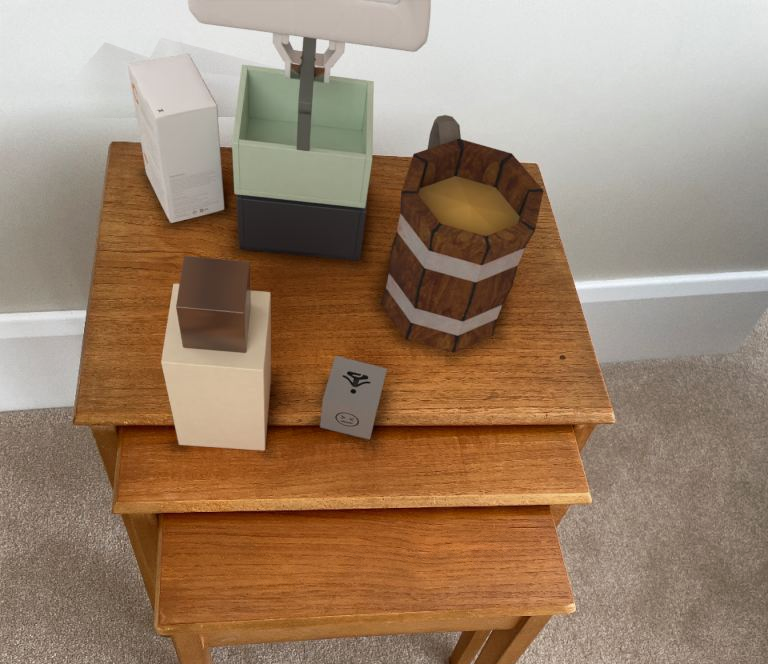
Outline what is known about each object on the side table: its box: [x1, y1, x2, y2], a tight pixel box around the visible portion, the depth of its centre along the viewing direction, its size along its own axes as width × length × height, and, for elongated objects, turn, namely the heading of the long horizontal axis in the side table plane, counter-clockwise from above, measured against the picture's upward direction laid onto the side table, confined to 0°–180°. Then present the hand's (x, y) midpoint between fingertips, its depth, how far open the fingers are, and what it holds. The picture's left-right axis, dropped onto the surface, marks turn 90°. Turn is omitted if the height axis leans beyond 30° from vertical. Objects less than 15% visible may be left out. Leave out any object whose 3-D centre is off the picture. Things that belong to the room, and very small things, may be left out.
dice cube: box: [319, 355, 388, 440], centre depth 75 cm, size 5×5×5 cm
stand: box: [160, 282, 272, 452], centre depth 69 cm, size 8×8×13 cm
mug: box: [380, 114, 544, 353], centre depth 79 cm, size 20×14×15 cm
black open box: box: [236, 194, 368, 262], centre depth 84 cm, size 13×11×7 cm
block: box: [176, 255, 252, 353], centre depth 61 cm, size 5×5×5 cm
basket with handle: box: [231, 37, 375, 208], centre depth 75 cm, size 13×11×11 cm
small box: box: [127, 53, 225, 224], centre depth 80 cm, size 8×6×13 cm
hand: (307, 76), depth 72 cm, fingers closed on basket with handle
